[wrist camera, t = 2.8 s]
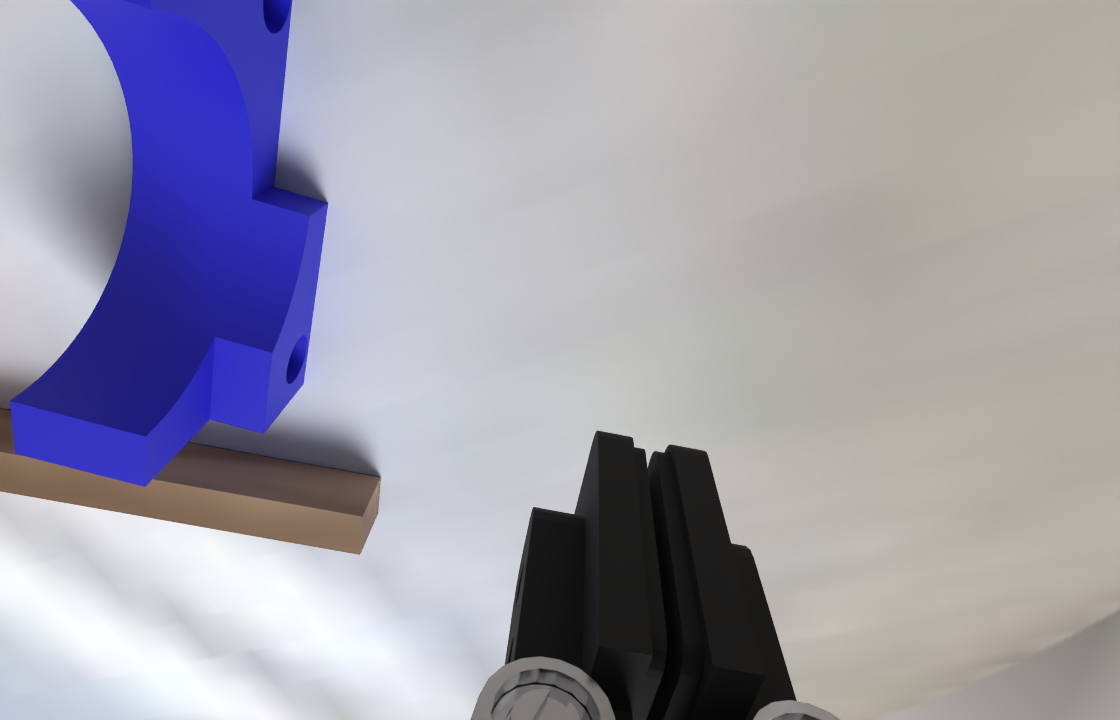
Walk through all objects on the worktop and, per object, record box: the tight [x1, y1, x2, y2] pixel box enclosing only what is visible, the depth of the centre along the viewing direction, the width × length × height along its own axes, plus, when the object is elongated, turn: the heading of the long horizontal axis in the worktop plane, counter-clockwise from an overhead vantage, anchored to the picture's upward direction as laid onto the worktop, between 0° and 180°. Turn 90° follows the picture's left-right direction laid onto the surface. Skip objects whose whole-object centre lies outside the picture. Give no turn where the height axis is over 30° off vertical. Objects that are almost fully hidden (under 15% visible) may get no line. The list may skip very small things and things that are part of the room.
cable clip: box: [10, 0, 328, 487], centre depth 16 cm, size 12×4×6 cm, turn 163°
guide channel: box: [0, 408, 381, 555], centre depth 17 cm, size 21×17×3 cm
